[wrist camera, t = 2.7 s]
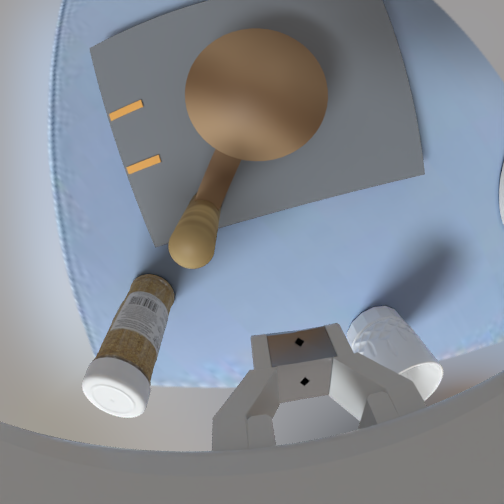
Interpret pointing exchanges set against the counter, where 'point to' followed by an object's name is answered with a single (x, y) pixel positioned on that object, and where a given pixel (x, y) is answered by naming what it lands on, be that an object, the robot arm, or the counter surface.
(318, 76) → the dial
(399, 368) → the white cup
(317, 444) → the robot arm
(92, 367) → the sprinkles bottle
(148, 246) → the counter surface
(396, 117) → the stand
